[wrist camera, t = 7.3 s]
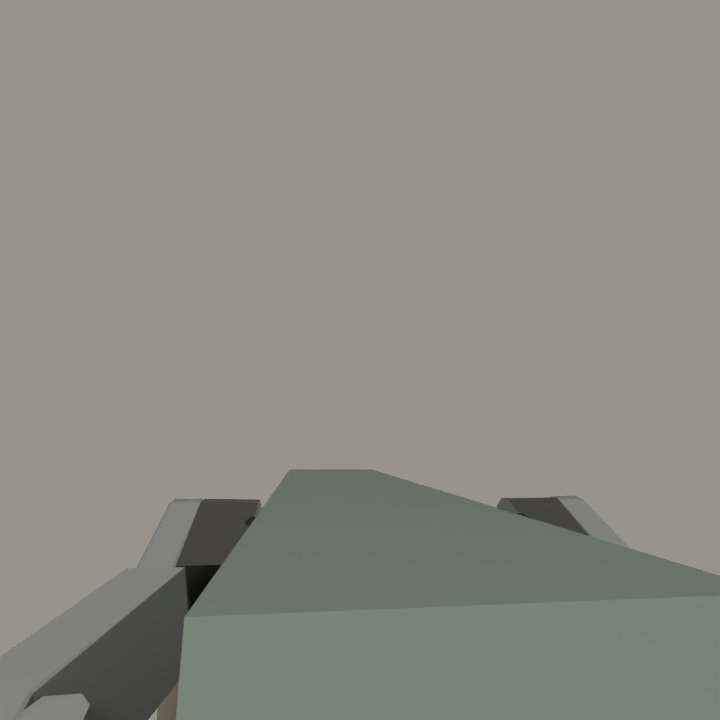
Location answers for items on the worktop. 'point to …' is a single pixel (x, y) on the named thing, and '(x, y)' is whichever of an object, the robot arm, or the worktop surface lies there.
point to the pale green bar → (441, 616)
